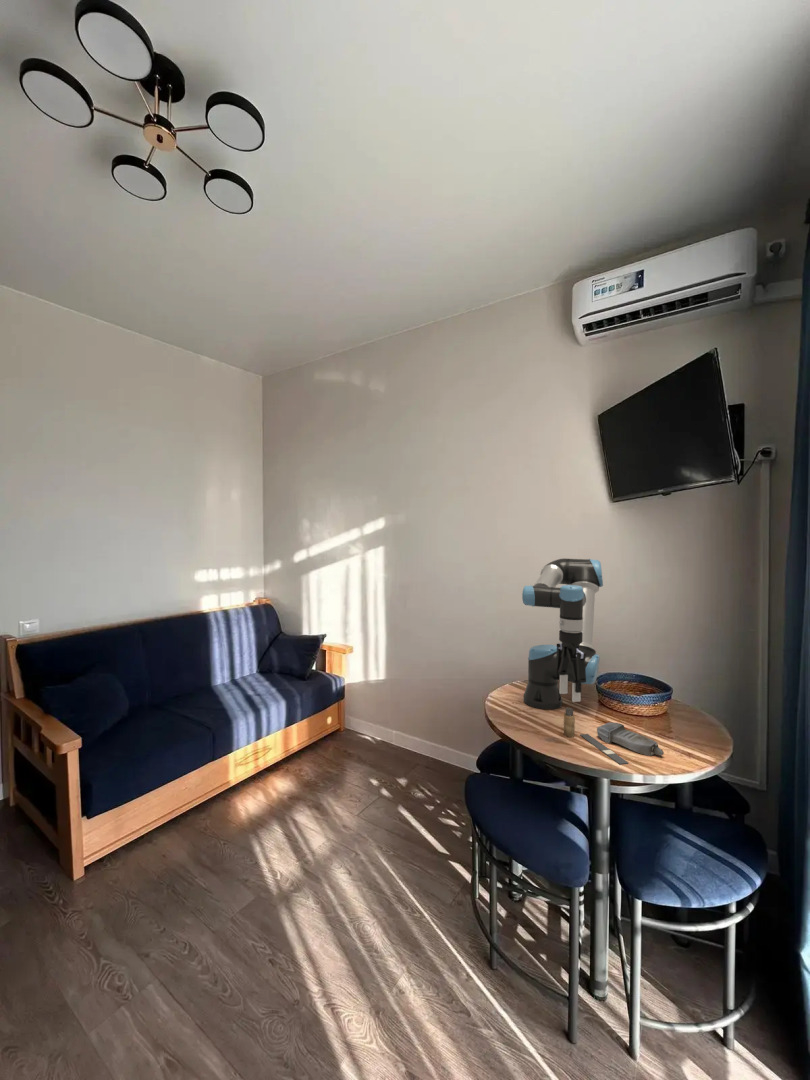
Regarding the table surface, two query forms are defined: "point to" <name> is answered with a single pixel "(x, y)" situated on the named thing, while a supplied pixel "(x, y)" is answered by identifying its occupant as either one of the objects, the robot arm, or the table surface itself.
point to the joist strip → (604, 749)
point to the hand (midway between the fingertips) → (569, 697)
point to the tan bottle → (569, 723)
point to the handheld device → (628, 739)
